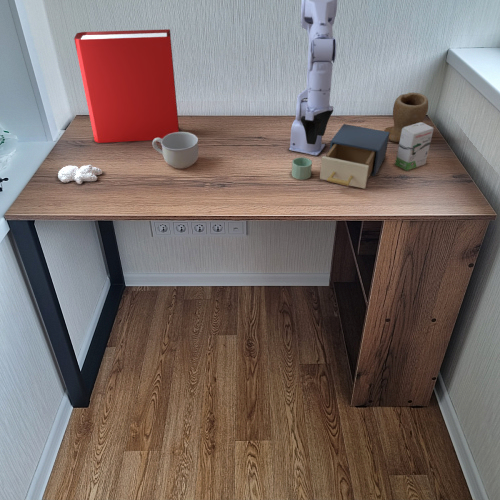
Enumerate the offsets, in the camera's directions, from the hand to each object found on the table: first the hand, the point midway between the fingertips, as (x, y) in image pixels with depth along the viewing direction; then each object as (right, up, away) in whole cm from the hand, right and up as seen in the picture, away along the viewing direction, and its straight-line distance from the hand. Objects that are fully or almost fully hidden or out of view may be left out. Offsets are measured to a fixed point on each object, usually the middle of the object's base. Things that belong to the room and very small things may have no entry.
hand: (315, 139), depth 138 cm
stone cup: (+34, +6, +28) cm, 45 cm away
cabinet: (+15, -3, +16) cm, 22 cm away
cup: (-3, -8, +10) cm, 13 cm away
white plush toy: (-67, -9, +9) cm, 68 cm away
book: (-55, +8, +31) cm, 64 cm away
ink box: (+30, -4, +15) cm, 34 cm away
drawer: (+9, -9, +7) cm, 15 cm away
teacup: (-40, -4, +15) cm, 43 cm away
